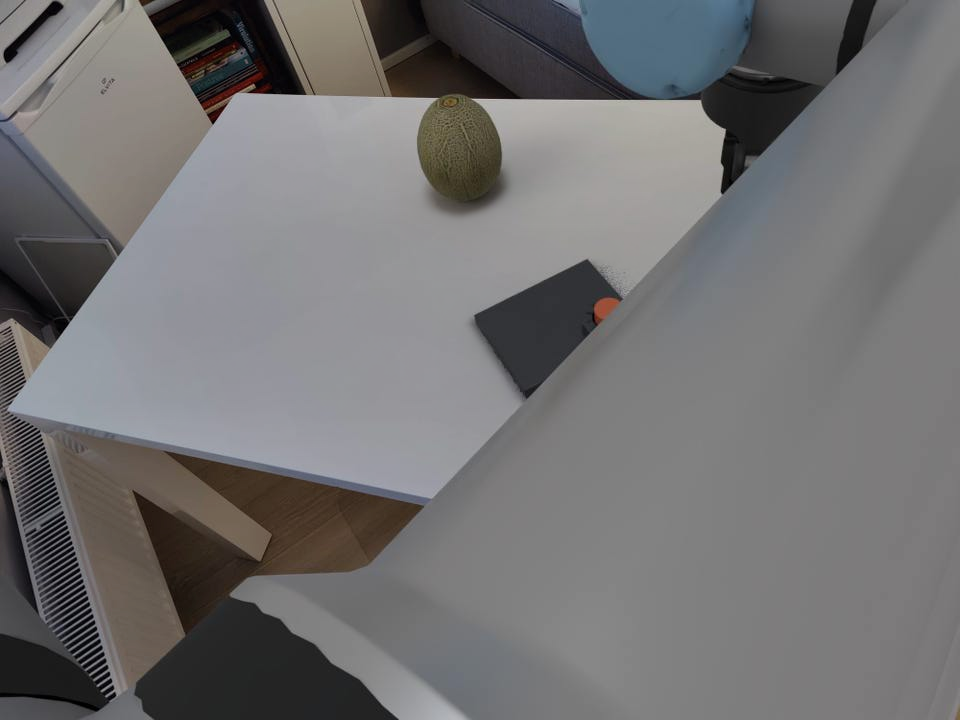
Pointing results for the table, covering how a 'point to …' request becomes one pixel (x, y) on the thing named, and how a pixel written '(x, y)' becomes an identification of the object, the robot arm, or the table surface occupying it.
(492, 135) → the fruit
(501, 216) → the table surface
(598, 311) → the button
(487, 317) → the dark grey button plate
